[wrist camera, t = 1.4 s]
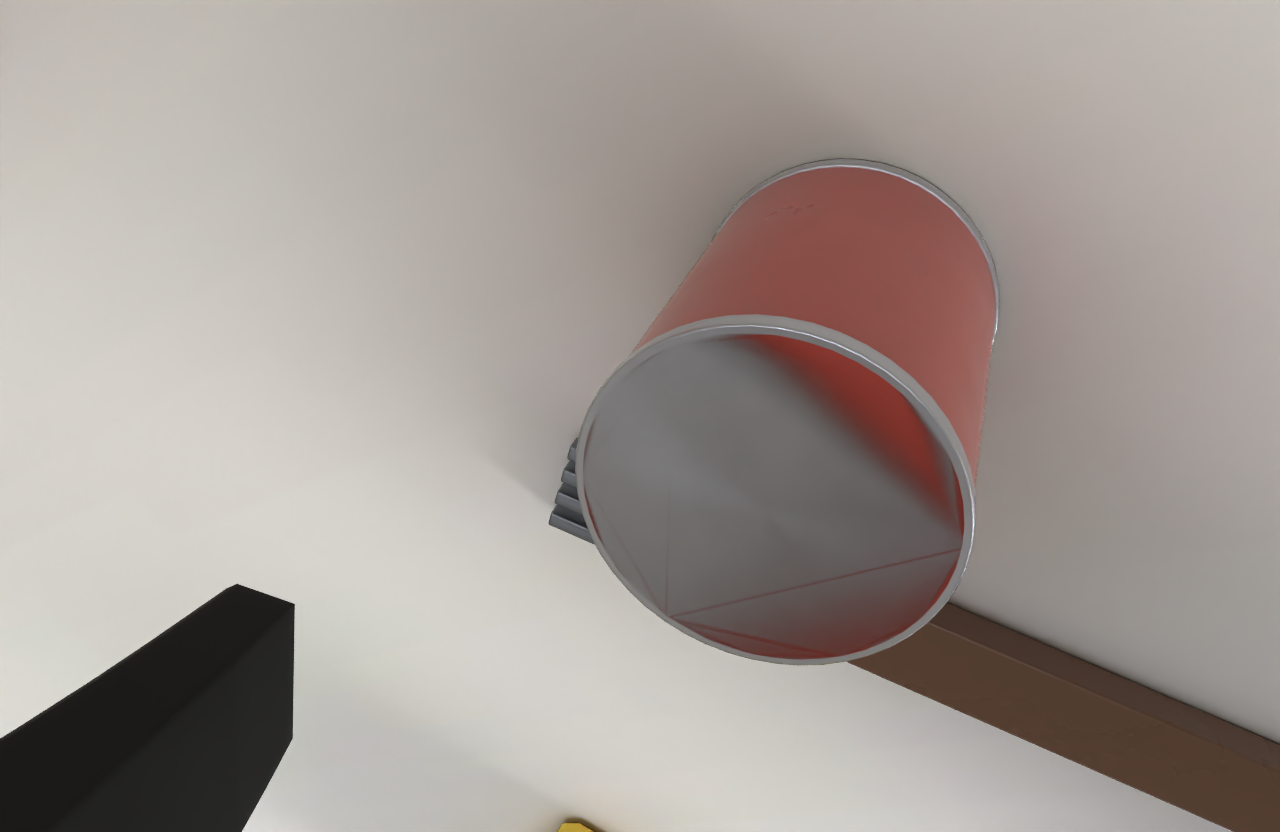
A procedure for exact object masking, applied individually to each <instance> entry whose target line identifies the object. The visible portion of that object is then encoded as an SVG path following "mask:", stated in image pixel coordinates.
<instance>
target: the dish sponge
mask: <svg viewBox="0 0 1280 832" xmlns="http://www.w3.org/2000/svg"><path fill="white" fill-rule="evenodd" d="M557 832H593V831H592V830H590V829H588V828H586V827H585V826H583V825H581V824H580V823H563V824H562V825H561V827H560V828H559V830H558V831H557Z"/></svg>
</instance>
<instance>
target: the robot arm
mask: <svg viewBox="0 0 1280 832" xmlns="http://www.w3.org/2000/svg"><path fill="white" fill-rule="evenodd" d="M294 610H295V604H293V603H290V602H287V601H285V600H282V599H279V598H276V597H273V596H270V595H267V594H264V593H262V592H259V591H256V590H253V589H250V588H247V587H244V586H241V585H239V584H236V585H234V586H231V587H229V588H227V589H225V590H224V591H222V592H221V593H219V594H218V595H217V596H215V597H214V598H212V599H211V600H209V601H208V602H206V603H205V604H204V605H202V606H201V607H199V608H198V609H196V610H195V611H193V612H192V613H191V614H189V615H188V616H186V617H185V618H183V619H182V620H180V621H179V622H178V623H176V624H175V625H173V626H172V627H170V628H169V629H167V630H166V631H164V632H163V633H162V634H160V635H159V636H157V637H156V638H154V639H153V640H151V641H150V642H148V643H147V644H145V645H144V646H143V647H141V648H140V649H138V650H137V651H135V652H134V653H132V654H131V655H129V656H128V657H126V658H125V659H123V660H122V661H120V662H119V663H117V664H116V665H114V666H113V667H111V668H110V669H108V670H107V671H105V672H104V673H102V674H101V675H99V676H98V677H96V678H95V679H93V680H92V681H90V682H89V683H87V684H86V685H84V686H82V687H81V688H79V689H78V690H76V691H75V692H73V693H71V694H70V695H68V696H67V697H65V698H64V699H62V700H60V701H59V702H57V703H56V704H54V705H53V706H51V707H50V708H48V709H46V710H45V711H43V712H42V713H40V714H39V715H37V716H35V717H34V718H32V719H31V720H29V721H28V722H26V723H25V724H23V725H21V726H20V727H18V728H17V729H15V730H13V731H12V732H10V733H9V734H7V735H5V736H4V737H2V738H0V832H242V830H243V828H244V827H245V825H246V823H247V821H248V819H249V818H250V816H251V814H252V812H253V811H254V809H255V807H256V805H257V803H258V802H259V800H260V798H261V796H262V795H263V793H264V791H265V789H266V787H267V785H268V783H269V782H270V780H271V778H272V776H273V774H274V772H275V770H276V769H277V767H278V765H279V763H280V761H281V759H282V757H283V755H284V754H285V752H286V750H287V748H288V746H289V744H290V742H291V740H292V739H293V676H294Z"/></svg>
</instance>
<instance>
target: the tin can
mask: <svg viewBox="0 0 1280 832" xmlns="http://www.w3.org/2000/svg"><path fill="white" fill-rule="evenodd" d="M999 307H1000V306H999V286H998V280H997V275H996V269H995V266H994V263H993V260H992V258H991V255H990V252H989V250H988V248H987V246H986V244H985V242H984V240H983V238H982V236H981V234H980V232H979V231H978V229H977V228H976V227H975V225H974V224H973V222H972V221H971V219H970V218H969V217H968V216H967V215H966V213H965V212H964V211H963V210H962V209H961V208H960V207H959V206H958V205H957V204H956V203H955V202H954V201H953V200H952V199H950V198H949V197H948V196H947V195H946V194H944V193H943V192H942V191H941V190H940V189H938V188H936V187H935V186H933V185H932V184H930V183H928V182H927V181H925V180H924V179H922V178H920V177H918V176H916V175H913V174H911V173H909V172H907V171H905V170H902V169H899V168H896V167H893V166H889V165H886V164H883V163H877V162H872V161H866V160H854V159H835V160H823V161H817V162H813V163H808V164H803V165H800V166H797V167H794V168H791V169H789V170H786V171H783V172H781V173H779V174H777V175H775V176H773V177H771V178H769V179H768V180H766V181H764V182H763V183H761V184H760V185H759V186H757V187H756V188H754V189H753V190H751V191H750V192H749V193H748V194H747V195H746V196H745V197H744V198H743V199H742V200H740V201H739V202H738V203H737V204H736V206H735V207H734V208H733V209H732V211H731V212H730V213H729V214H728V215H727V217H726V218H725V219H724V221H723V222H722V224H721V225H720V227H719V229H718V230H717V232H716V234H715V235H714V237H713V239H712V241H711V244H710V245H709V246H708V248H707V249H706V250H705V252H704V253H703V255H702V256H701V257H700V259H699V260H698V262H697V263H696V264H695V266H694V267H693V268H692V270H691V271H690V273H689V274H688V275H687V277H686V278H685V279H684V281H683V282H682V284H681V285H680V286H679V288H678V289H677V290H676V292H675V293H674V295H673V296H672V297H671V299H670V300H669V302H668V303H667V304H666V306H665V307H664V308H663V310H662V311H661V313H660V314H659V315H658V317H657V318H656V319H655V321H654V322H653V324H652V325H651V326H650V328H649V329H648V330H647V332H646V333H645V335H644V336H643V337H642V339H641V340H640V342H639V343H638V344H637V346H636V347H635V348H634V350H633V351H632V353H631V354H630V355H629V357H628V358H627V359H625V360H624V361H623V362H622V363H621V364H620V365H619V366H618V367H617V368H616V370H615V371H614V372H613V373H612V374H611V376H610V377H609V378H608V379H607V381H606V382H605V383H604V384H603V386H602V387H601V389H600V390H599V391H598V393H597V395H596V397H595V398H594V400H593V402H592V404H591V405H590V407H589V409H588V411H587V414H586V416H585V419H584V422H583V424H582V427H581V430H580V435H579V439H578V444H577V449H576V466H575V474H576V485H577V494H578V498H579V502H580V507H581V511H582V514H583V517H584V520H585V522H586V525H587V528H588V530H589V533H590V535H591V537H592V539H593V541H594V543H595V545H596V547H597V549H598V550H599V552H600V554H601V556H602V557H603V558H604V560H605V561H606V563H607V564H608V566H609V567H610V569H611V570H612V572H613V573H614V574H615V575H616V576H617V578H618V579H619V580H620V581H621V582H622V583H623V585H624V586H625V587H626V588H627V589H628V590H629V591H630V592H631V593H632V594H633V595H634V596H635V597H636V598H637V599H638V600H639V601H640V602H641V603H642V604H643V605H644V606H646V607H647V608H648V609H650V610H651V611H652V612H653V613H655V614H656V615H657V616H659V617H660V618H661V619H663V620H664V621H665V622H667V623H669V624H670V625H672V626H673V627H675V628H677V629H678V630H680V631H681V632H683V633H685V634H687V635H689V636H691V637H693V638H695V639H697V640H699V641H701V642H703V643H705V644H707V645H710V646H712V647H715V648H717V649H720V650H723V651H725V652H728V653H731V654H735V655H738V656H742V657H745V658H749V659H753V660H759V661H764V662H770V663H776V664H789V665H824V664H831V663H838V662H846V661H850V660H854V659H858V658H861V657H865V656H869V655H872V654H874V653H877V652H879V651H882V650H884V649H887V648H889V647H891V646H893V645H895V644H897V643H899V642H900V641H902V640H904V639H906V638H908V637H909V636H911V635H912V634H913V633H915V632H916V631H917V630H919V629H920V628H921V627H923V626H924V625H925V624H927V623H928V622H929V621H930V620H931V619H932V618H933V617H934V616H935V615H936V614H937V613H938V612H939V611H940V610H941V609H942V608H943V607H944V605H945V604H946V602H947V601H948V600H949V598H950V597H951V595H952V594H953V593H954V591H955V590H956V588H957V586H958V584H959V582H960V580H961V578H962V576H963V574H964V572H965V570H966V567H967V563H968V560H969V557H970V553H971V550H972V545H973V537H974V529H975V520H976V499H975V483H976V475H977V466H978V458H979V449H980V441H981V432H982V424H983V416H984V407H985V399H986V390H987V382H988V373H989V365H990V357H991V349H992V346H993V343H994V339H995V335H996V332H997V324H998V316H999Z"/></svg>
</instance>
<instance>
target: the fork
mask: <svg viewBox="0 0 1280 832" xmlns="http://www.w3.org/2000/svg"><path fill="white" fill-rule="evenodd" d="M578 439H579V438H576V440H575V441H574V442H573V444H572V445H571V447H570V450H569V453H568V459H569V460H571V461H570V462H569V463H568V464H567V466H566V467H565V469H564V471H563V474H562V478H561V481H562V482H564V483H563V484H562V486H561V487H560V489H559V490H558V492H557V495H556V498H555V503H556V504H557V505H556V507H555V508H554V510H553V511H552V513H551V516H550V519H549V525H551V526H554V527H556V528H558V529H560V530H563V531H565V532H567V533H570V534H572V535H574V536H576V537H579V538H581V539H583V540H586V541H588V542H590V543H592V544H595V543H594V541H593V539H592V537H591V535H590V533H589V530H588V528H587V525H586V522H585V520H584V517H583V514H582V511H581V507H580V502H579V498H578V494H577V485H576V474H575V466H576V449H577V444H578ZM846 662H848V663H850V664H853V665H855V666H857V667H860V668H862V669H864V670H866V671H869V672H871V673H873V674H876V675H878V676H880V677H882V678H885V679H887V680H889V681H891V682H894V683H896V684H898V685H901V686H903V687H905V688H907V689H910V690H912V691H914V692H917V693H919V694H921V695H923V696H926V697H928V698H930V699H933V700H935V701H937V702H939V703H942V704H944V705H946V706H948V707H951V708H953V709H955V710H958V711H960V712H962V713H964V714H967V715H969V716H971V717H974V718H976V719H978V720H980V721H983V722H985V723H987V724H990V725H992V726H994V727H996V728H999V729H1001V730H1003V731H1005V732H1008V733H1010V734H1012V735H1015V736H1017V737H1019V738H1021V739H1024V740H1026V741H1028V742H1031V743H1033V744H1035V745H1037V746H1040V747H1042V748H1044V749H1047V750H1049V751H1051V752H1053V753H1056V754H1058V755H1060V756H1062V757H1065V758H1067V759H1069V760H1072V761H1074V762H1076V763H1078V764H1081V765H1083V766H1085V767H1088V768H1090V769H1092V770H1094V771H1097V772H1099V773H1101V774H1104V775H1106V776H1108V777H1110V778H1113V779H1115V780H1117V781H1119V782H1122V783H1124V784H1126V785H1129V786H1131V787H1133V788H1135V789H1138V790H1140V791H1142V792H1145V793H1147V794H1149V795H1151V796H1154V797H1156V798H1158V799H1161V800H1163V801H1165V802H1167V803H1170V804H1172V805H1174V806H1176V807H1179V808H1181V809H1183V810H1186V811H1188V812H1190V813H1192V814H1195V815H1197V816H1199V817H1202V818H1204V819H1206V820H1208V821H1211V822H1213V823H1215V824H1218V825H1220V826H1222V827H1224V828H1227V829H1229V830H1231V831H1233V832H1280V745H1279V744H1276V743H1274V742H1272V741H1269V740H1267V739H1265V738H1262V737H1260V736H1258V735H1255V734H1253V733H1251V732H1248V731H1246V730H1243V729H1241V728H1239V727H1236V726H1234V725H1232V724H1229V723H1227V722H1225V721H1222V720H1220V719H1218V718H1215V717H1213V716H1211V715H1208V714H1206V713H1204V712H1201V711H1199V710H1197V709H1194V708H1192V707H1190V706H1187V705H1185V704H1183V703H1180V702H1178V701H1176V700H1173V699H1171V698H1169V697H1166V696H1164V695H1162V694H1159V693H1157V692H1154V691H1152V690H1150V689H1147V688H1145V687H1143V686H1140V685H1138V684H1136V683H1133V682H1131V681H1129V680H1126V679H1124V678H1122V677H1119V676H1117V675H1115V674H1112V673H1110V672H1108V671H1105V670H1103V669H1101V668H1098V667H1096V666H1094V665H1091V664H1089V663H1087V662H1084V661H1082V660H1080V659H1077V658H1075V657H1073V656H1070V655H1068V654H1065V653H1063V652H1061V651H1058V650H1056V649H1054V648H1051V647H1049V646H1047V645H1044V644H1042V643H1040V642H1037V641H1035V640H1033V639H1030V638H1028V637H1026V636H1023V635H1021V634H1019V633H1016V632H1014V631H1012V630H1009V629H1007V628H1005V627H1002V626H1000V625H998V624H995V623H993V622H991V621H988V620H986V619H984V618H981V617H979V616H976V615H974V614H972V613H969V612H967V611H965V610H962V609H960V608H958V607H955V606H953V605H951V604H948V603H946V604H945V605H944V607H943V608H942V609H941V610H940V611H939V612H938V613H937V614H936V615H935V616H934V617H933V618H932V619H931V620H930V621H929V622H928V623H927V624H925V625H924V626H923V627H921V628H920V629H919V630H917V631H916V632H915V633H913V634H912V635H911V636H909V637H908V638H906V639H904V640H902V641H900V642H899V643H897V644H895V645H893V646H891V647H889V648H887V649H884V650H882V651H879V652H877V653H874V654H872V655H869V656H865V657H861V658H858V659H854V660H850V661H846Z"/></svg>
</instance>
